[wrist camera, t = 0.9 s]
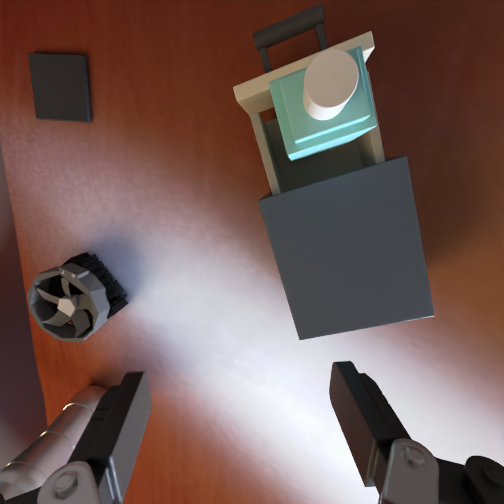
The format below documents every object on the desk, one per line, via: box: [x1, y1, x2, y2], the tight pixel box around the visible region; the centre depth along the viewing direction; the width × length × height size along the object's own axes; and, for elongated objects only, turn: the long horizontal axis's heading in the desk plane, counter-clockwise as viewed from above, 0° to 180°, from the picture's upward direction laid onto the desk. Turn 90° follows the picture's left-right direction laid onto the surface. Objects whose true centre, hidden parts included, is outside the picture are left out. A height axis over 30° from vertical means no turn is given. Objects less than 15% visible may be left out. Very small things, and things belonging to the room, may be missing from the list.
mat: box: [28, 53, 91, 123], centre depth 34 cm, size 7×7×1 cm
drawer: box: [233, 4, 385, 195], centre depth 27 cm, size 18×11×7 cm, turn 18°
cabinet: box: [258, 156, 435, 340], centre depth 30 cm, size 15×13×9 cm
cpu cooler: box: [27, 252, 128, 342], centre depth 39 cm, size 10×6×10 cm
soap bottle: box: [268, 46, 377, 163], centre depth 20 cm, size 4×5×18 cm
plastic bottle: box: [0, 385, 108, 500], centre depth 37 cm, size 6×7×20 cm
